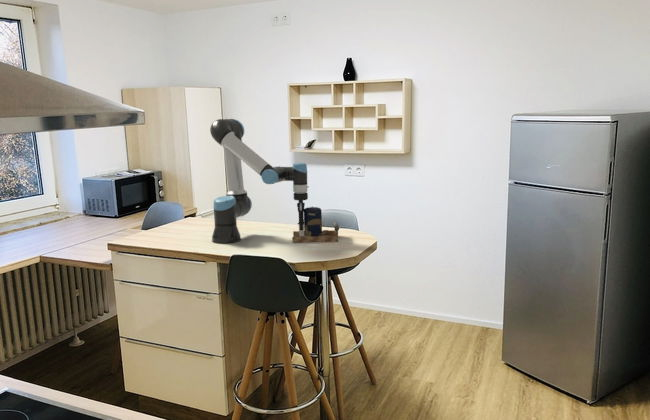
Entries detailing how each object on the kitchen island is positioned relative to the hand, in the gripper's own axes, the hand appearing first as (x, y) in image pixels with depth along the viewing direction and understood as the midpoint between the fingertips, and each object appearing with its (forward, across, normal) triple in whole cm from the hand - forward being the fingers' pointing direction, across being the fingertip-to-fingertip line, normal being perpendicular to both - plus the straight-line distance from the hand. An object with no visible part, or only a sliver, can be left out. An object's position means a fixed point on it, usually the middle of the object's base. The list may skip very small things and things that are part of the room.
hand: (301, 235), depth 282 cm
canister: (+2, 0, -6) cm, 7 cm away
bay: (+2, 0, -7) cm, 8 cm away
